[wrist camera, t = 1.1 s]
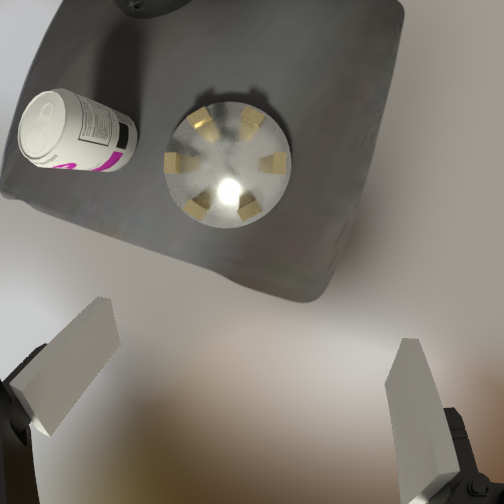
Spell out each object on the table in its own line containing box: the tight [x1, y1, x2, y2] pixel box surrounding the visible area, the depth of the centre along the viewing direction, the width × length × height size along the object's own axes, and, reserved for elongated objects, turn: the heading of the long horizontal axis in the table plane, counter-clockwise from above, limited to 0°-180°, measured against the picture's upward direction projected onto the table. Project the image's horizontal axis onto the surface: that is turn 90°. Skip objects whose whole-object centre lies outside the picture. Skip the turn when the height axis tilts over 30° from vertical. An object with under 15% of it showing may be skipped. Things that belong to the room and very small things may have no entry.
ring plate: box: [164, 102, 291, 228], centre depth 35 cm, size 15×15×3 cm
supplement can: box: [18, 88, 137, 172], centre depth 30 cm, size 8×8×15 cm
